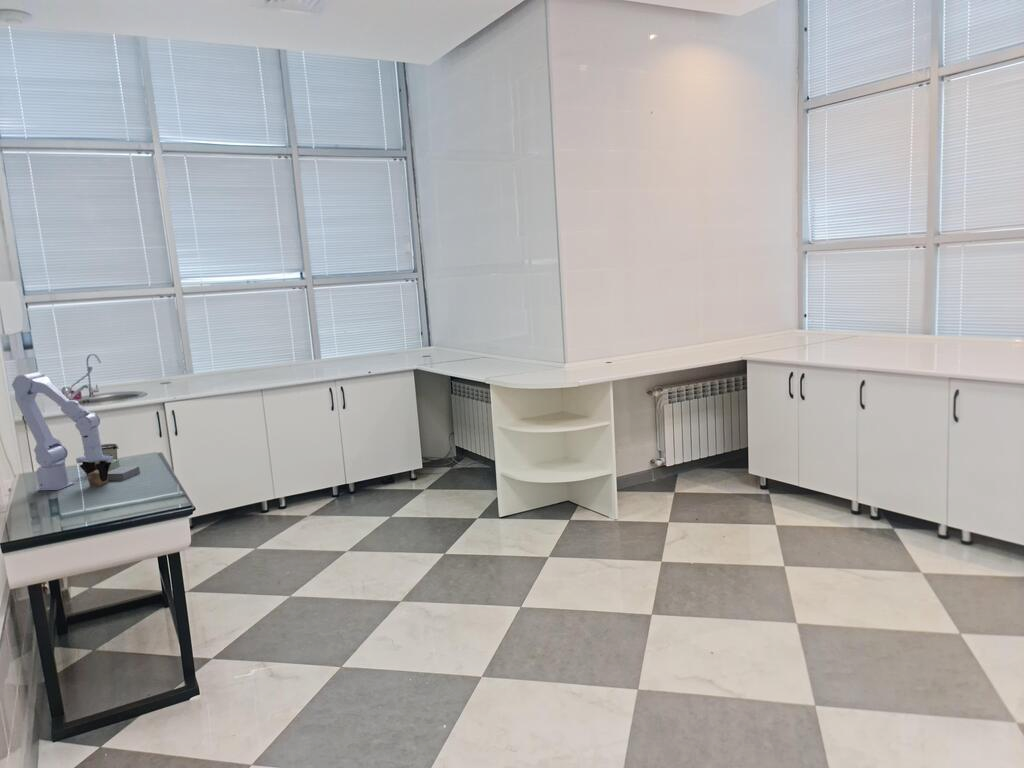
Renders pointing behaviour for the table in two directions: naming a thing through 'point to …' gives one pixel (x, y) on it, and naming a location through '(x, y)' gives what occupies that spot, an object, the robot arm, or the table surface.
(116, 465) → the sage block
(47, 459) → the robot arm
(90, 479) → the walnut block
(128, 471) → the base block
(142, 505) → the table surface
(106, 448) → the food container
